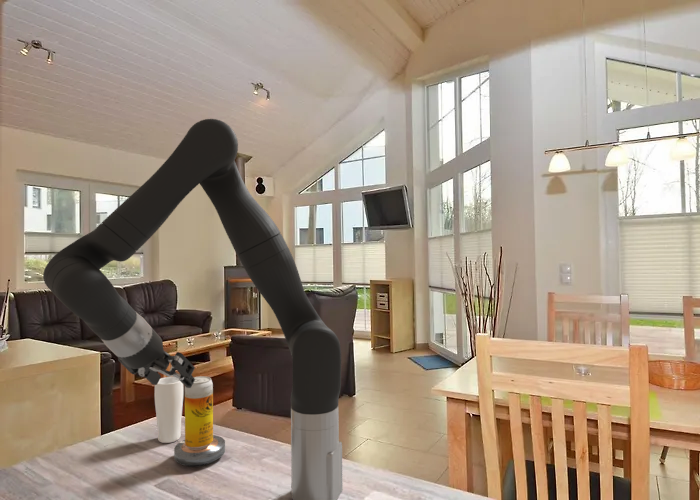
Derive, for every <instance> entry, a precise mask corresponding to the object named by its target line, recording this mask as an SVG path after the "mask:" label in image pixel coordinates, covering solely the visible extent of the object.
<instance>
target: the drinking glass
mask: <svg viewBox="0 0 700 500" xmlns="http://www.w3.org/2000/svg"><path fill="white" fill-rule="evenodd" d="M183 403H184V384H183V383H182V382H181V381H180V380H179V379H178V378H176V377H174V376H171V377H168V376H166V377H161V378H160V380H159V382H158V383H157V385H154V406H155V413H156V414H155V416H156V426H157V439H158V442H160V443H162V444H171V443H174V442H176V441H178V440H179V439H180V438H181V437H182V434H181V433H182V416H183V407H184V406H183Z"/></svg>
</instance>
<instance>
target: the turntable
mask: <svg viewBox="0 0 700 500" xmlns="http://www.w3.org/2000/svg"><path fill="white" fill-rule="evenodd" d="M173 451H174V453H173V455H174V456H173V457H174V461H175V463H178V464H179V465H182V466H186V465H190V466H192V465H202V464H206V463H210V462H212V461H214V462H215V461H216V460H219V459H221V457H223V456H224V455H225V453H226V440H225V439H224V438H223V437H222V436H219V435H214V434H213V441H212V442H211V444H210V446H208V447H207V448H204V449H200V450H191V449H189V448H188V447H187V446H186V445H185V439H183V440H181V441H179V442H178V443H177V444H176V445H175V446H174V449H173ZM212 463H213V462H212ZM210 464H211V463H210ZM190 466H189V467H190Z"/></svg>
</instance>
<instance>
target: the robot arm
mask: <svg viewBox="0 0 700 500" xmlns="http://www.w3.org/2000/svg"><path fill="white" fill-rule="evenodd" d="M238 141H239V140H238V137H237V135H236V133H235V131H234V130H233V128H232V127H231V126H230V125H228V124H227V123H226V122H225V121H222V120H220V119H217V118H205V119H201V120H200V121H197V122H195V123H194V124H193V125H191V127H190V128H189V129H188V130H187V133H186V134H185V135H184V137H183V138H182V140H181V141H180V142H179V144H178V145H177V147H176V148H175V149H174V151H173V152H172V153H171V154H170V155H169V157H168V158H167V159H166V160H165V161H164V162H163V164H161V166H160V167H159V168H158V169H157V170H156V171H155V172H154V173H153V174H152V175H151V176H150V177H149V179H147V180H146V181H145V182H144V183H143V184H142V185H140V187H138V189H137V190H135V191H134V192H133V193H132V194H131V195H129V197H128V198H126V200H124V201H123V202H122V203H121V204H120V205H119V206H117V208H115V209H114V211H112V213H110V214H109V215H108V216H107V217H106V218H105V219H104V220H103V221H102V222H101V223H99V224H98V225H97V227H96V228H95V229H93V230H92V231H91V232H89V233H87V234H85V235H83V236H82V237H80V238H78V239H77V240H75V241H73V242H72V243H70V244H68V245H67V246H65V247H64V248H62V249H61V250H60V251H58V252H57V253H56V254H55V255H53V256H52V257H51V259H50V260H49V261H48V263H47V264H46V266H45V267H44V270H43V274H42V278H43V281H44V284H45V286H46V287H47V288H48V290H50V292H51V293H52V294H53V295H54V296H55V297H56V298H57V299H58V300H59V302H61V303H62V304H63V305H64V306H65V307H66V309H68V310H69V311H71V313H73V314H74V315H75V316H77V317H78V318H79V319H80V320H82V321H83V323H85V325H86V326H87V327H88V328H89V329H90V330H91V331H92V332H93V333H94V334H95V335H96V336H97V337H99V339H100V340H101V341H102V342H103V344H104V346H106V348H108V349H109V350H110V351H111V352H112V353H113V354H114V355H115V356H116V357H117V360H118V362H119V363H120V364H121V365H122V366H123V367H124V368H125V369H126V370H127V371H128V373H130V374H131V375H135V376H136V374H138V375H139V377H144V379H146V380H147V381H148V382H150V384H151V385H154V386H155V385H157V383H158V382H159V380H160V379H161V378H162V377H161V374H162V375H164V376H166V377H176V378H178V379H179V380H180V381H181V382H182V383H183V386H184V387H185V386H186V388H191V387H192V385H193V383H194V381H195V378H194V376H193V373H194V371H195V369H196V368H195V367H196V366H194V365H193V363H191V361H190V360H189V359H188V358H186V356H185V355H184V354H183V353H182V352H179V351H176V352H175V354H174V355H171V354H169V352H167V351H165V350H164V342H163V339H162V337H161V336H160V335H159V334H158V333H157V332H156V331H155V329H154V328H153V327H152V326H151V325H150V324H149V323H148V321H146V319H145V318H144V317H143V316H142V315H141V314H140V313H138V312H137V311H135V309H134V308H133V307H132V306H131V304H130V303H128V301H127V300H126V299H125V298H124V297H123V296H121V295H120V294H119V293H118V290H117V289H116V288H115V287H114V285H113V284H112V282H111V280H109V279H108V277H107V276H106V275H105V274H104V272H102V270H101V269H102V268H104V267H105V266H106V265H108V264H110V263H111V262H113V261H116V262H125V261H127V260H129V259H130V258H131V257H132V256H134V255H135V254H136V252H138V251H139V250H140V249H141V248H142V247H143V246H144V244H146V243H147V242H148V241H149V240H150V239H151V237H153V235H154V234H156V232H157V231H158V230H159V229H160V228H162V225H163V224H164V223H165V222H166V221H167V220H168V219H169V217H170V215H171V214H172V213H173V212H174V211H175V210H176V208H177V207H178V206H179V205H180V204H181V203H182V201H183V200H184V199H185V198H186V197H187V196H188V195H189V194H190V193H191V192H192V191H193V190H194V189H195V188H196V187H197V186H199V185H200V187H202V190H203V191H204V192H205V195H206V196H207V197H208V199H209V201H210V202H211V203H212V205H213V207H214V209H215V210H216V213H217V215H218V217H219V219H220V222H221V224H222V226H223V229H224V231H225V233H226V235H227V237H228V239H229V241H230V244H231V246H232V248H233V249H234V252H235V254H236V255H237V257H238V259H239V261H240V263H241V265H242V267H243V269H244V271H245V272H246V274H247V275H248V277H249V279H250V280H251V282H252V283H253V285H254V287H255V288H256V289H257V291H258V292H259V295H261V297H263V299H264V300H265V301H266V303H267V304H268V305H269V307H270V308H271V310H272V312H273V313H274V315H275V318H276V319H277V322H278V324H279V326H280V329H281V331H282V333H283V336H284V339H285V341H286V343H287V347H288V350H289V353H290V355H291V362H292V363H291V364H292V366H291V369H292V371H291V372H292V376H291V378H292V384H291V385H292V386H291V393H290V453H291V455H290V458H291V459H290V463H291V465H290V470H291V475H290V476H291V478H290V479H291V482H290V483H291V484H290V488H291V500H338V498H339V497H340V495H341V494H342V491H343V443H342V441H341V440H340V439H339V437H340V436H339V435H340V434H339V431H340V430H339V423H340V421H339V419H340V418H339V417H340V416H339V396H340V394H341V390H342V389H341V386H342V385H341V384H342V349H341V348H342V347H341V343H340V339H339V338H338V336H337V334H336V333H335V331H333V330H332V329H331V328H330V327H328V326H327V325H326V324H325V322H324V320H322V318H321V317H320V315H319V313H318V312H317V311H316V309H315V307H314V306H313V304H312V303H311V300H310V299H309V297H308V295H307V292H305V289H304V287H303V283H302V280H301V277H300V273H299V270H298V268H297V264H296V262H295V259H294V257H293V255H292V252H291V251H290V247H289V246H288V244H287V242H286V240H285V238H284V236H283V235H282V233H281V231H280V229H279V228H278V226H277V224H276V222H275V221H274V220H273V219H272V218H271V216H270V215H269V214H268V213H267V212H266V210H265V209H264V208H263V207H262V205H260V204H259V203H258V201H257V200H256V199H255V198H254V197H253V195H252V194H251V193H250V191H249V190H248V188H247V186H246V184H245V182H244V180H243V178H242V175H241V173H240V171H239V169H238V166H237V163H236V161H235V160H236V159H237V156H238V155H237V154H238V151H239V142H238ZM170 365H171V367H170V369H169V370H167V369H168V368H169V366H170ZM176 371H177V372H176ZM339 440H340V441H339Z"/></svg>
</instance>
